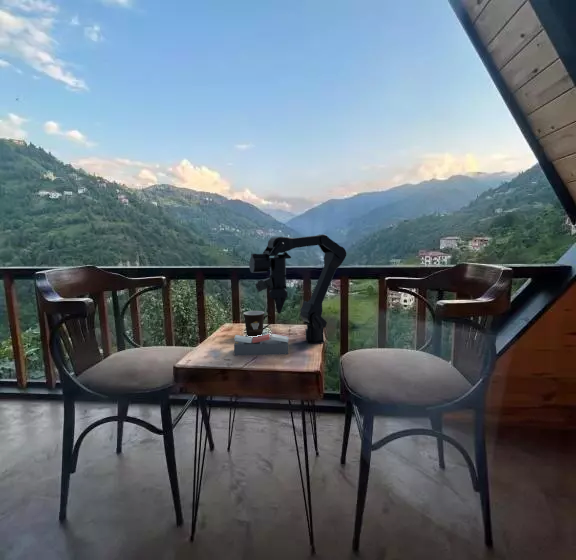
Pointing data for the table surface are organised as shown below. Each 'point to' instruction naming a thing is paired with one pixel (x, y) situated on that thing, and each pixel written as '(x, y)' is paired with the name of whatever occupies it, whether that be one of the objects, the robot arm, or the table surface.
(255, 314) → the coffee mug
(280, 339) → the block
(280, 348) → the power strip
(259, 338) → the red block
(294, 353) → the table surface
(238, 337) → the white rectangular block
